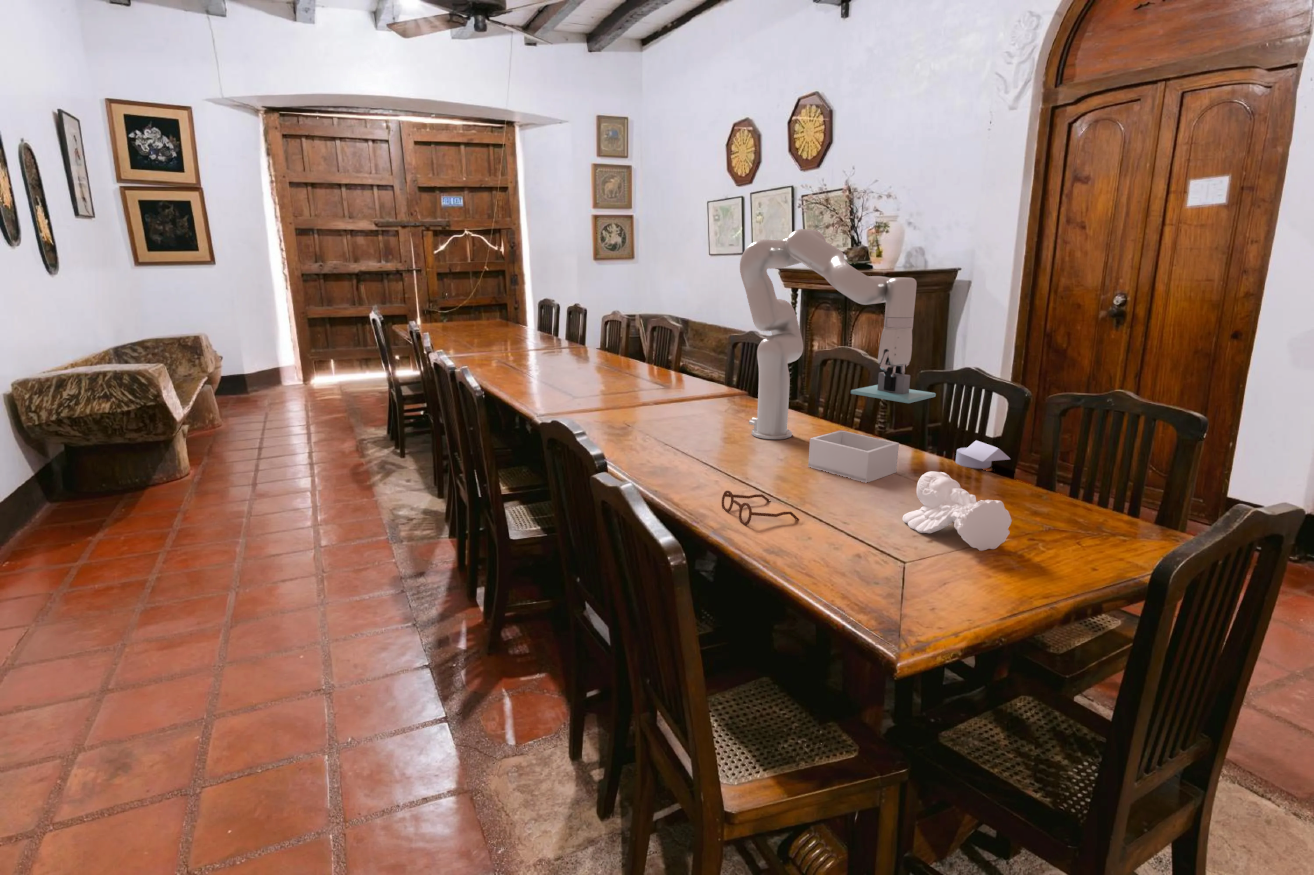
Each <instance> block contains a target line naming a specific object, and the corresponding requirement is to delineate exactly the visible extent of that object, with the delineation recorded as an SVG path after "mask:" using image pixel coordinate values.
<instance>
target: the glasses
mask: <svg viewBox="0 0 1314 875" xmlns="http://www.w3.org/2000/svg"><path fill="white" fill-rule="evenodd" d="M725 498H730V504H729V507H728V508H726V506H725ZM736 498H737V499H748V500H749V499H753V498H762V499H764V500H765V501H766V502H768V501H769V500H770V499H769V498H768V497H767V496H765V495H764V494H761V493H760V494H756V493H755V494H751V495H745V494H743V495H742V494H733V493H732V491H730V490H725V491H724V492H723V494H722V497H721V508H722V510H723V509H724V510H725V512H726V513H728V512H731V511H732V509H733V505H734V504H735V505H736V506H738V508H739V511H738V519H739V522H740V523H741V524H742V525H743V526H748V525H749V524H750V523H751V519H752V516H758V517H769V518H770V517H771V518H772V517H773V518H778V517H780V516H785V515H790V516H791V517H792V518H793V519H794V520H796V519H797V520H796V521H799V520H798V519H799V517H797V516H796V514H795V513H793V512H792V511H782V512H778V513H770V512H769V513H768V512H767V513H766V512H754V511H752V510H753V509H752V507H751V505H750V503H748V502H743V503H740V502H739V501H737V500H735V499H736ZM769 502H770V501H769ZM744 507H747V509H748V517H747V520H746V521H744V520H743V518H742V517H743V516H742V513H743V509H744ZM724 510H723V511H724Z"/></svg>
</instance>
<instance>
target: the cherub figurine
mask: <svg viewBox="0 0 1314 875" xmlns="http://www.w3.org/2000/svg"><path fill="white" fill-rule="evenodd" d="M916 497H917V499H918V500H919V501H920V503H921V504H922V505H923V506H921V507H920V508H919V509H916V510H912V511H909V512H906V513H904V514H903V516H902V521H903V522H904V523H905V524H907V526H908V527H909V528H911V530H914V531H916V532H918V533H921V534H932V533H935V532H938V531H941V530H943V529H944V528H947V527H948V526H950V525H952V523H954V524H953V526H954V527H953V528H954V529H955V530H956V531H957V534H958V535H959V536H961V539H962V541H964V542H965V543H967V544H968V545H969V546H970V548H973V549H977V550H979V552H980V551H981V552H983V551H986V550H989V549H990V550H995V549H997V548H998V547H999V546H1000V545H1002V544H1003V543H1005V542H1006V540H1007V538H1008V537H1009V535H1010V530H1009V527H1010V526H1011V524H1012V517H1011V514H1010V512H1009V510H1007V509H1006V507H1005V504H1004V502H1003V501H1002V500H997V499H996V500H995V499H994V500H993V499H985V500H982V499H980V500H978V501H977V498H976V497H977V496H976V495H975V494H970V492H968V491H967V490H966V489H963V488H962V487H961V485H960V482H958V481H957V480H955V479H953V478H951V476H950V475H949V474H947V473H946V472H944V471H943V472H942V471H931V470H930V471H927V472H925V473H924V474H922V475H921V476H920V478H918V481H917V484H916Z"/></svg>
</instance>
